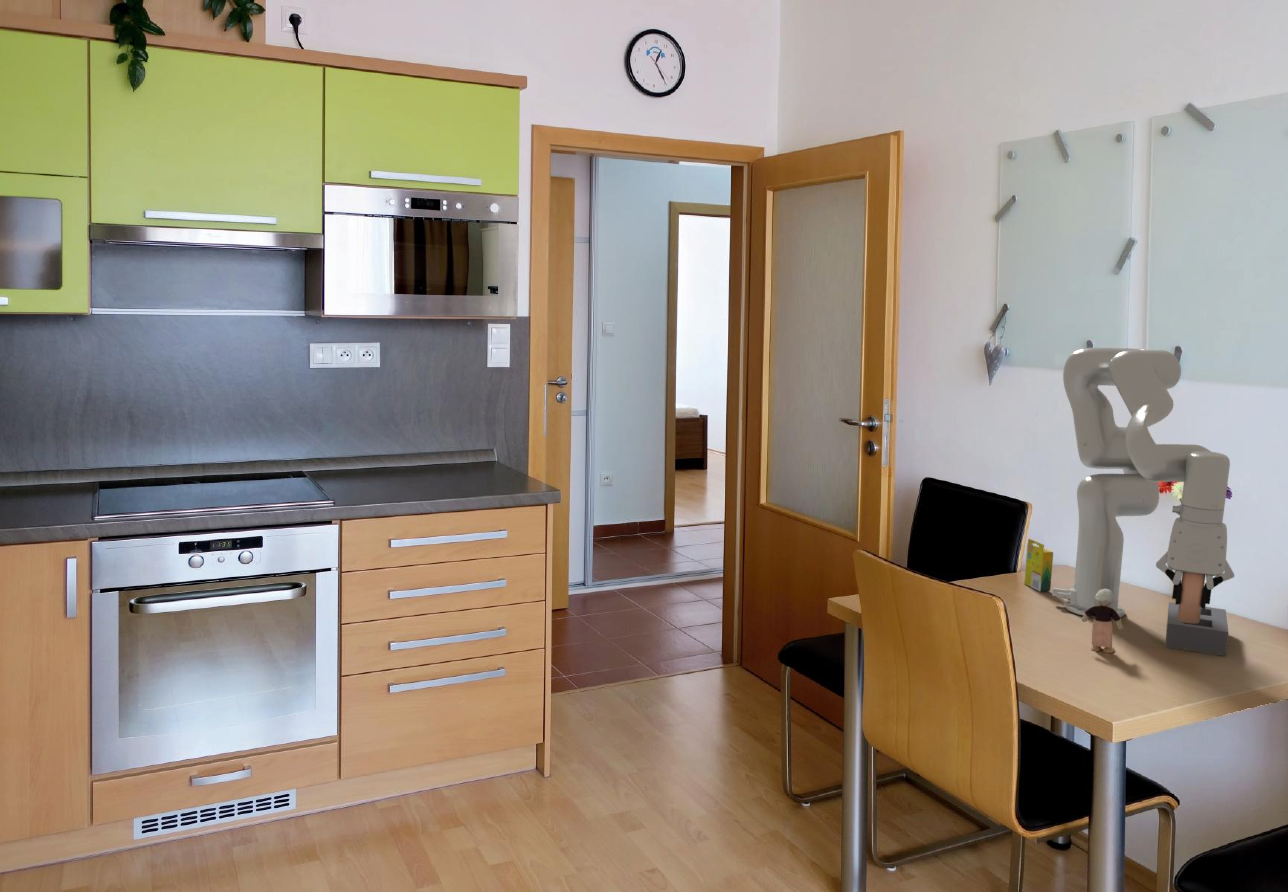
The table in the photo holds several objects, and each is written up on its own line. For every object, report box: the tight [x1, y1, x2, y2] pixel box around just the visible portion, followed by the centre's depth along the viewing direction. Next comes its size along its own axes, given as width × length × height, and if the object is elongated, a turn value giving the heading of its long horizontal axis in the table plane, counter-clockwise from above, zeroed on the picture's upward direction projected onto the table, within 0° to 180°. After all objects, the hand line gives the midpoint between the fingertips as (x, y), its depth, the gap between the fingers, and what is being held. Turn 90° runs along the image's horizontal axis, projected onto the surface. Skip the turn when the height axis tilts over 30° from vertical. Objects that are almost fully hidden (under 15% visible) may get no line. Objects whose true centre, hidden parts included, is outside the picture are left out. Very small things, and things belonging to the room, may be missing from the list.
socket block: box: [1165, 601, 1229, 657], centre depth 229 cm, size 11×18×5 cm, turn 154°
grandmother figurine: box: [1081, 589, 1124, 654], centre depth 220 cm, size 8×4×13 cm, turn 71°
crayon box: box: [1024, 538, 1054, 593], centre depth 266 cm, size 7×3×12 cm, turn 11°
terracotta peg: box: [1177, 572, 1206, 623], centre depth 215 cm, size 4×4×11 cm
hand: (1190, 603), depth 216 cm, fingers closed on terracotta peg, 4 cm apart
